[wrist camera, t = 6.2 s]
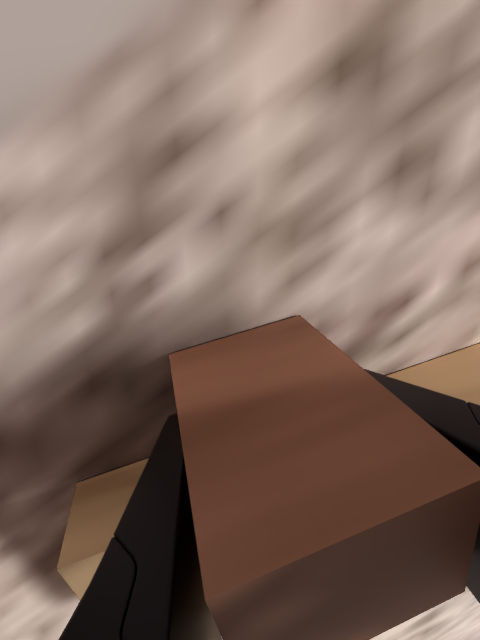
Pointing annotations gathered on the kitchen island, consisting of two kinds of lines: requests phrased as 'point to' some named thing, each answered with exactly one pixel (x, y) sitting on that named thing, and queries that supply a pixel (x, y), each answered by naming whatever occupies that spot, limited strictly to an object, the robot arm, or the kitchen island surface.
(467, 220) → the kitchen island surface
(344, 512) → the chocolate colored brick
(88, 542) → the plank
